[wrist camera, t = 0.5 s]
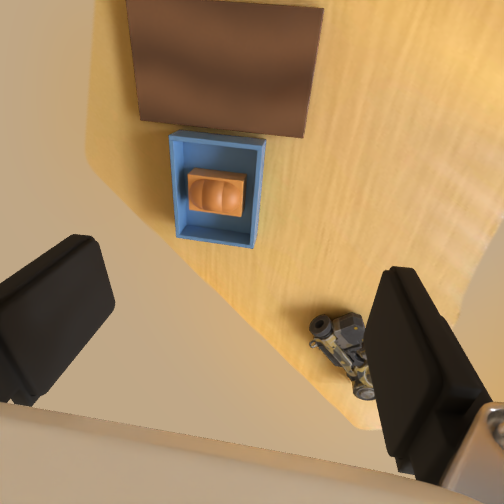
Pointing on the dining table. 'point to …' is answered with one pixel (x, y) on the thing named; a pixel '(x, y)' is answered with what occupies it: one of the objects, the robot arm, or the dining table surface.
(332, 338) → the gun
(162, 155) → the dining table surface
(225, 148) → the bin
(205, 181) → the bread
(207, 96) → the board
